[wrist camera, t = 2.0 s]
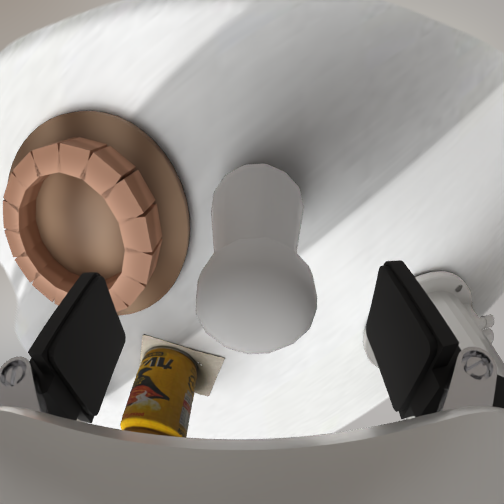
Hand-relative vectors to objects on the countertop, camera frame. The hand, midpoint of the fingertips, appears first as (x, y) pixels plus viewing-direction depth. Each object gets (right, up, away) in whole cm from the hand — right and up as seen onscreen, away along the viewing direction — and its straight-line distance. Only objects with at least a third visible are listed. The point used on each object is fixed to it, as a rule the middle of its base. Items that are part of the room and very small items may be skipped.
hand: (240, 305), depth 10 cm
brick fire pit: (-13, +4, +12) cm, 18 cm away
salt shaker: (+1, +6, +11) cm, 13 cm away
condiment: (-7, -10, +20) cm, 24 cm away
